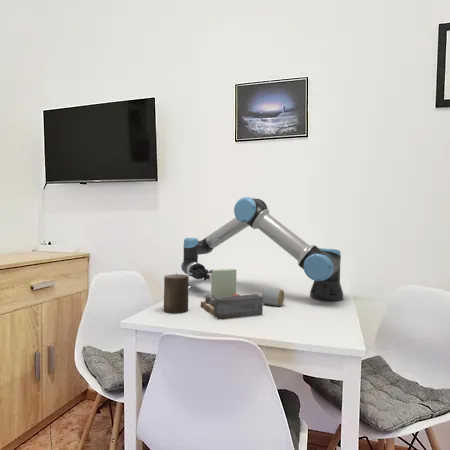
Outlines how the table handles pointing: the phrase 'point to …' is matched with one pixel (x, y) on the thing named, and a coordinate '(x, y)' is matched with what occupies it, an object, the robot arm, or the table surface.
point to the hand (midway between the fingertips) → (213, 278)
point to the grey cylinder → (273, 296)
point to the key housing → (234, 306)
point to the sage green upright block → (223, 283)
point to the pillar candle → (176, 293)
